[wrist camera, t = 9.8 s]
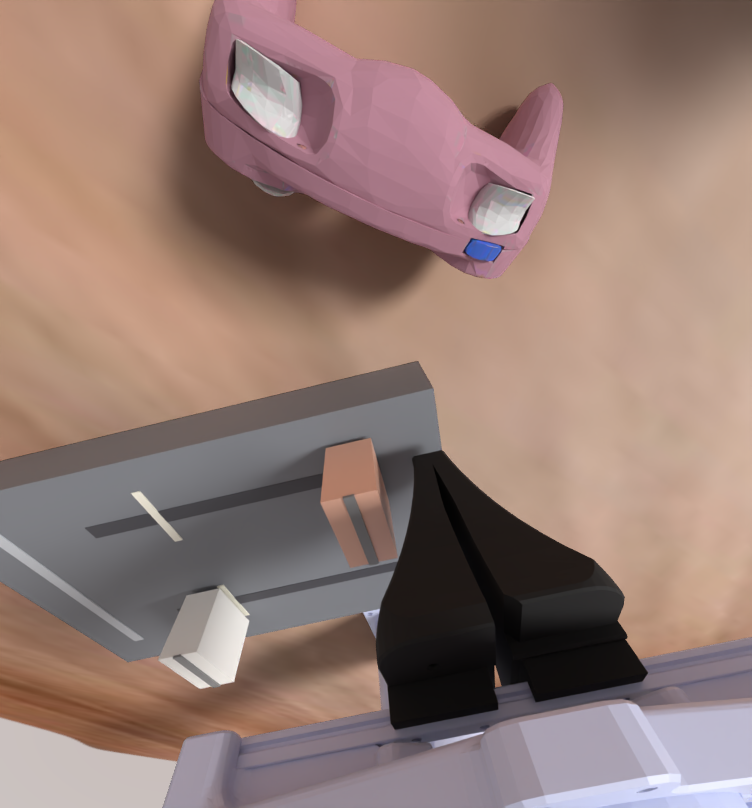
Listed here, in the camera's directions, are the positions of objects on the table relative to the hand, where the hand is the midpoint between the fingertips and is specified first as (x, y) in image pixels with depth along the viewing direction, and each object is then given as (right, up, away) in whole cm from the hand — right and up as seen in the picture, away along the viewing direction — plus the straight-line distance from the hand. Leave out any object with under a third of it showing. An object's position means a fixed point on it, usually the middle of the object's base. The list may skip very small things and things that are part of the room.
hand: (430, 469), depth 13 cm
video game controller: (-2, +12, -2) cm, 13 cm away
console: (-10, -4, +6) cm, 13 cm away
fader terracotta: (-3, 0, +1) cm, 3 cm away
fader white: (-12, -10, +5) cm, 16 cm away
